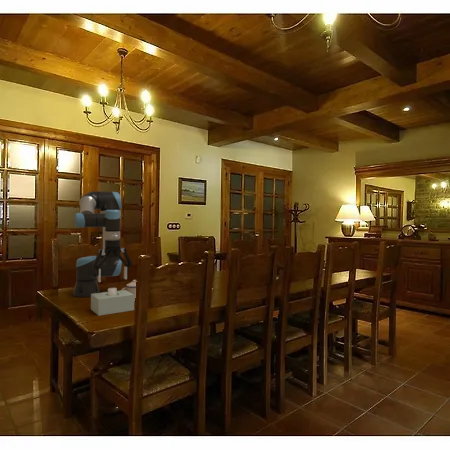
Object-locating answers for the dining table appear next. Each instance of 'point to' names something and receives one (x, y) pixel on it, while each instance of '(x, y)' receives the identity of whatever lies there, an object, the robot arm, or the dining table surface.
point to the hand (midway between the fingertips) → (112, 280)
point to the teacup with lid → (131, 288)
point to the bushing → (112, 291)
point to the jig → (112, 302)
